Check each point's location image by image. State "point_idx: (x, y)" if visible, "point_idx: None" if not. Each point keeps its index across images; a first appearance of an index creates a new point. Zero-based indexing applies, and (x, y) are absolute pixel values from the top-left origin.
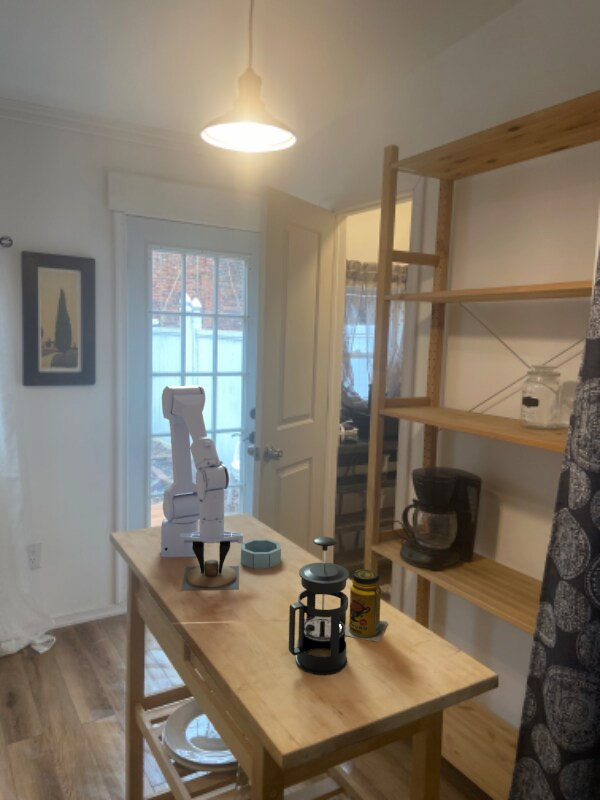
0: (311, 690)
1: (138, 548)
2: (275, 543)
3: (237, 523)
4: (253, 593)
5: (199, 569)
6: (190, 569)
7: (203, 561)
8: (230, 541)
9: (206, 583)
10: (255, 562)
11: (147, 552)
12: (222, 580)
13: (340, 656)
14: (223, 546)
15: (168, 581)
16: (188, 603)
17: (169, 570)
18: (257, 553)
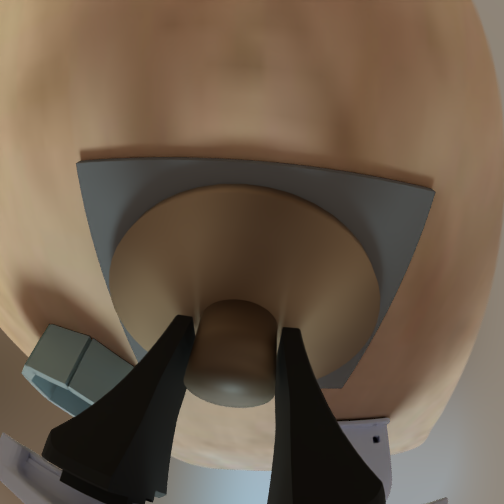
0: None
1: (413, 430)
2: (52, 401)
3: (199, 460)
4: (26, 132)
5: None
6: (330, 375)
7: (283, 399)
8: (68, 480)
9: (272, 220)
10: (73, 354)
11: (405, 425)
12: (163, 249)
13: None
14: (83, 479)
15: (443, 303)
16: (401, 15)
17: (401, 372)
18: (55, 380)
